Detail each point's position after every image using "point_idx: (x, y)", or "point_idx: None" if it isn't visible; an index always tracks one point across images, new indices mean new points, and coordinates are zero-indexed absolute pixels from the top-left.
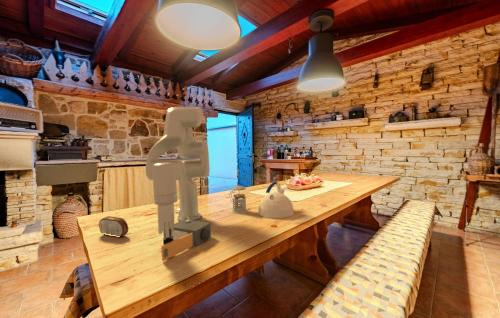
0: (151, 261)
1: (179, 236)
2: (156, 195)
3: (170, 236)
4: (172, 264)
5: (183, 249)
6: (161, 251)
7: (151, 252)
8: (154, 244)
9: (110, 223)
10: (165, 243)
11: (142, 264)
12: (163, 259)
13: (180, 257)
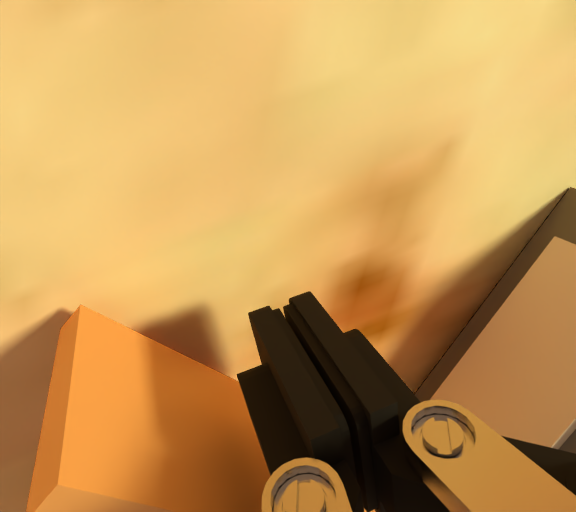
0: (108, 144)
1: (527, 360)
2: None
3: (385, 508)
4: (16, 428)
5: None
6: (67, 392)
7: (376, 54)
8: (572, 28)
9: None
10: (281, 398)
11: (8, 18)
12: (63, 341)
13: None
